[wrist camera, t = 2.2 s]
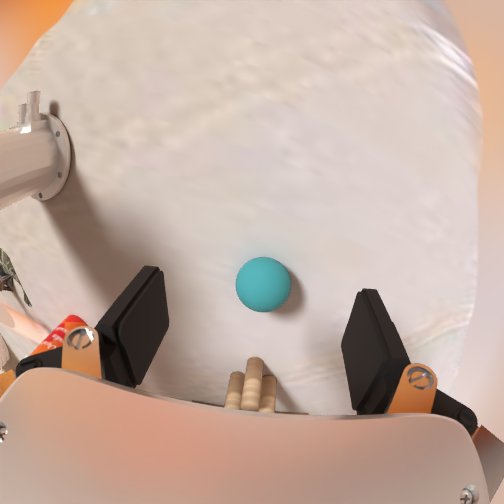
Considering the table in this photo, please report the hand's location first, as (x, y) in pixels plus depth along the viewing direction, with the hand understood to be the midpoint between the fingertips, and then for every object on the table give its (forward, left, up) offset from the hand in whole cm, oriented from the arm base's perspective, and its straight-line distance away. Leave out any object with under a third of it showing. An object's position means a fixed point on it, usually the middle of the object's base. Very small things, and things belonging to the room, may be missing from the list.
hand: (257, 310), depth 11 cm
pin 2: (+29, +2, -20) cm, 36 cm away
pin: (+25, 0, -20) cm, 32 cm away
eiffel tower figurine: (+18, -52, -21) cm, 59 cm away
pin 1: (+29, -3, -20) cm, 36 cm away
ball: (+9, 0, -17) cm, 19 cm away
